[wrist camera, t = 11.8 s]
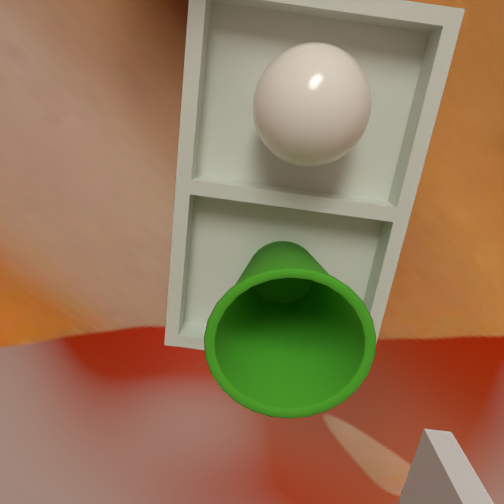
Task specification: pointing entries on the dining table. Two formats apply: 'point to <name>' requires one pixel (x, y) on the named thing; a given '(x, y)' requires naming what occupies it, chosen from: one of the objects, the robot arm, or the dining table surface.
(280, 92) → the white ball
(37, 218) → the dining table surface
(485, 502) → the robot arm
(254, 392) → the cup
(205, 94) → the tray
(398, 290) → the dining table surface
